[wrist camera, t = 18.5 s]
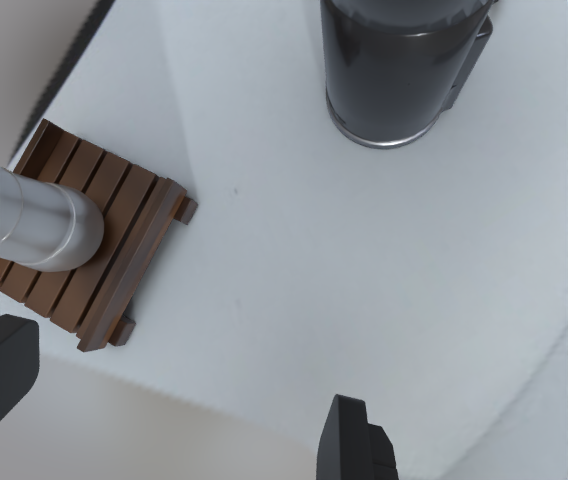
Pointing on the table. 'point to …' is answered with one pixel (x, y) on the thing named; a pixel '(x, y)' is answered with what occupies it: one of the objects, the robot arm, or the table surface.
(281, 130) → the table surface
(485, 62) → the table surface
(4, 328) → the robot arm
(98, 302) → the wooden slatted rack
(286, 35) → the table surface
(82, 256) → the silver metal bottle
